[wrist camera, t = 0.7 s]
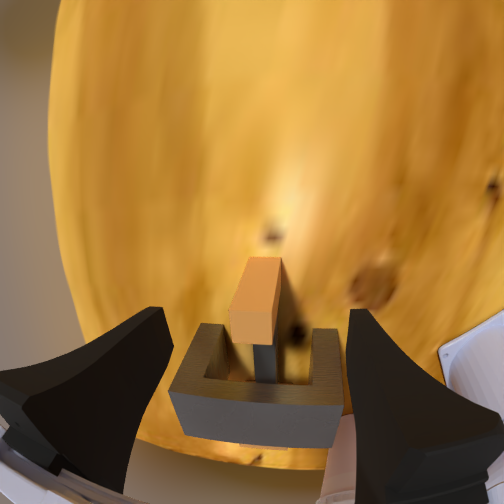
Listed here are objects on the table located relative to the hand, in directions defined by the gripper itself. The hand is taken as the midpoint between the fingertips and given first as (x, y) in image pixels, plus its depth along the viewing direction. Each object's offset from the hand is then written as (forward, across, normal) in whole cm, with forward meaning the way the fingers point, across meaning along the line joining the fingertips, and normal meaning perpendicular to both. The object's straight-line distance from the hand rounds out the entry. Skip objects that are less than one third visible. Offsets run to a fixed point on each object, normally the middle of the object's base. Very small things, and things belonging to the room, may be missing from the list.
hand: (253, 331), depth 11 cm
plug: (+9, +1, +9) cm, 12 cm away
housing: (+9, +1, +9) cm, 12 cm away
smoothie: (+9, -7, +19) cm, 22 cm away
